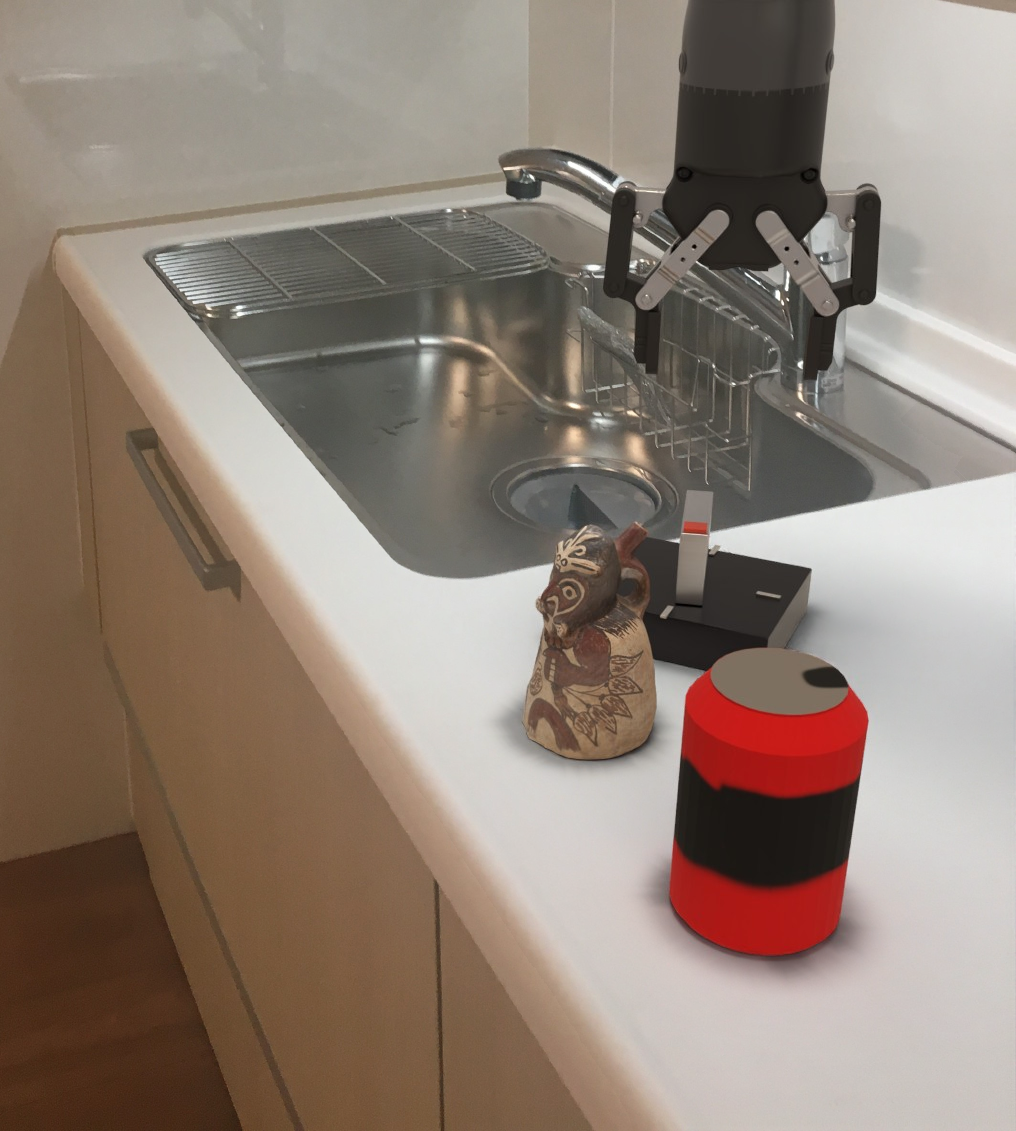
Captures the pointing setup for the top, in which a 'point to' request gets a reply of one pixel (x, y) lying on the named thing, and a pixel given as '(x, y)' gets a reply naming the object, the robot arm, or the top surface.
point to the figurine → (593, 650)
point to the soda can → (766, 800)
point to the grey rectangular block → (694, 547)
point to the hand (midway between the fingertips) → (729, 373)
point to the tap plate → (719, 604)
